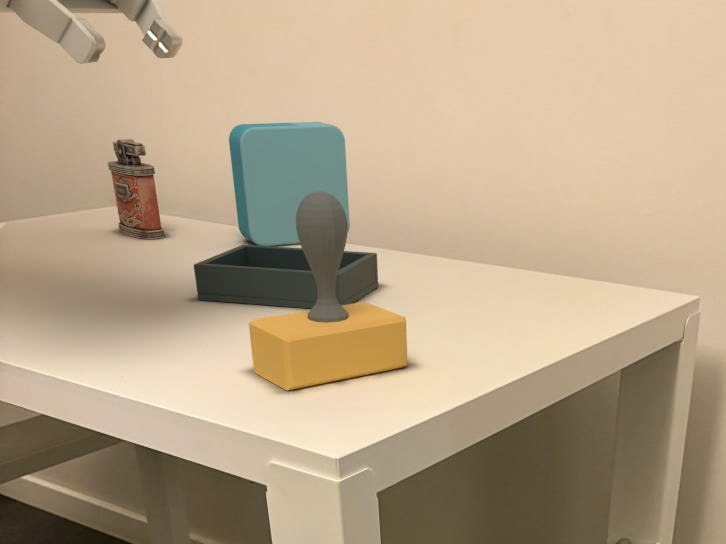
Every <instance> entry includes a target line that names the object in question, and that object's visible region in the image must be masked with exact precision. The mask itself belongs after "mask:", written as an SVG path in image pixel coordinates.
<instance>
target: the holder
mask: <svg viewBox="0 0 726 544" xmlns="http://www.w3.org/2000/svg"><path fill="white" fill-rule="evenodd" d="M193 271H194V279H195V285H196V292H197V299H198V301H205V302H207V301H208V302H218V303H219V302H220V303H221V302H222V303H232V304H236V303H237V304H246V305H258V306H260V305H261V306H272V307H284V308H285V307H286V308H297V309H308V310H309V309H310V310H311V309H312V308H313V306H314V305H315V304H316V301H317V298H318V290H317V285H316V281H315V278H314V275H313V273H312V270H311V268H310V265H309V263H308V261H307V259H306V256H305V254H304V252H303V250H302V247H287V246H259V245H257V244H256V245H255V244H241V245H238V246H236V247H233V248H231V249H229V250H226V251H223V252H221V253H218V254H216V255H213V256H211V257H209V258H206V259H204V260H202V261H198V262H197V263H193ZM378 287H379V268H378V253H377V252H365V251H349V250H344V252H343V256H342V259H341V262H340V266H339V269H338V273H337V278H336V284H335V293H336V298H337V300H338V302H339V304H340V305H348V304H354V303H356V302H357V301H359V300H360V299H361V298H363V297H365V296H366V295H368V294H370V293H371V292H372V291H374V290H376V289H377V288H378Z"/></svg>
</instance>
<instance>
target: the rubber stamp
mask: <svg viewBox="0 0 726 544" xmlns="http://www.w3.org/2000/svg"><path fill="white" fill-rule="evenodd" d="M296 230H297V234H298V238H299V241H300V244H299V245H300V248H302V250H303V252H304V254H305V256H306V259H307V261H308V263H309V265H310V268H311V270H312V273H313V275H314V278H315V281H316V285H317V290H318V298H317V301H316V304H315V305H314V306H313V308H312V309H310V310H309V309H308V310H303V311H296V312H290V313H285V314H278V315H277V314H276V315H272V316H265V317H259V318H253V319H252V320H251V321H249V323H248V330H249V339H250V348H251V357H252V366H253V367H252V368H253V373H254V374H256V375H257V376H259V377H261V378H263V379H265V380H267V381H268V382H271V384H274V385H276V386H278V387H279V388H281V389H283V390H285V391H287V392H288V391H293V390H299V389H303V388H307V387H313V386H318V385H322V384H327V383H332V382H337V381H338V382H339V381H343V380H348V379H352V378H357V377H363V376H367V375H373V374H377V373H383V372H387V371H393V370H398V369H402V368H405V367H407V366H408V343H407V342H408V338H407V337H408V336H407V335H408V334H407V319H406V316H403V315H400V314H398V313H396V312H393V311H390V310H388V309H385V308H382V307H379V306H377V305H374V304H372V303H370V302H365V301H360V302H354V303H352V304H348V305H340V304H339V302H338V300H337V298H336V293H335V284H336V278H337V273H338V269H339V266H340V262H341V259H342V256H343V252H344V251H345V250H346V249H345V248H346V244H347V239H348V233H347V231H348V226H347V218H346V214H345V211H344V209H343V206H342V205H341V204H340V202H339V201H338V200H337V199H336V198H335V197H334V196H333V195H331V194H329V193H327V192H322V191H317V192H312V193H311V194H309V195H307V196H306V197H305V198H304V199H303V200H302V201H301V203H300V205H299V207H298V210H297V214H296ZM348 232H349V231H348Z"/></svg>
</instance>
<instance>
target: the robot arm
mask: <svg viewBox="0 0 726 544" xmlns="http://www.w3.org/2000/svg"><path fill="white" fill-rule="evenodd" d="M0 13H15V14H16V16H17V17H19V19H20V20H21V21H22V22H23V23H25V24H26V25H28V26H30V27H31V28H33V29H34V30H35V31H38V32H39V33H40V34H42V35H43V36H45V37H47V38H48V39H49V40H51V41H53V42H54V43H56V44H58V45H59V46H61V48H62V49H63V50H64V51H65V52H66V53H67V54H68V55H69V56H70V57H71V58H72V59H73V60H74V61H75V62H76V63H78V64H79V65H80V64H91V63H92V64H93V63H97V62H98V61H99V59H100V57H101V54H103V53H104V51H105V49H106V45H107V44H106V40H105V38H104V36H103V35H101V33H99V32H98V31H97V30H96V28H95V27H94V25H92V23H90V21H89V20H88V19H87V18H78V17H77V16H76V15H75V14H123V15H124V16H125V17H126V18H127V19H128V21H130V22H135V23H136V25H137V26H138V28H139V30H140V31H141V32H142V34H143V38H142V39H141V41H142V42H143V44H144V45H145V46H147V48H148V49H149V50H151V52H152V53H153V54H154V55H155V56H156V57H157V58H159V59H173V58H175V57H176V55H177V53H178V52H179V50H180V49H181V47H182V45H183V37H182V35H181V34H180V32H178V30H177V29H176V28H175V27H174V26H173V25H172V24H171V23H170V21H168V19H167V16H166V14H165V12H164V10H163V8H162V6H161V4H160V1H159V0H0Z"/></svg>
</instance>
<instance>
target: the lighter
mask: <svg viewBox="0 0 726 544" xmlns="http://www.w3.org/2000/svg"><path fill="white" fill-rule="evenodd" d="M112 145H113V152H114V153H115V156H116V159H117V160H113V161H107V167H108V170H109V171H110V174H111V179H112V185H113V186H112V187H113V190H114V191H113V192H114V198H115V202H116V203H115V204H116V208H117V214H118V220H119V222H118V229H119V232H120V233H122V234H123V235H126V236H130V237H133V238H138V239H142V240H143V239H144V240H157V239H163V238H165V237H166V236H165V230H164V227H162V222H161V215H160V208H159V201H158V195H157V190H156V189H157V188H156V183H155V176H154V175H156V170H155V166H153V164H148V163H145V162H142V160H141V157H146V156H147V153H146V146H145V145H143V143H142V142H137V141H135V140H134V138H133V139H132V138H124V139H117V140H116V141H112Z"/></svg>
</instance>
